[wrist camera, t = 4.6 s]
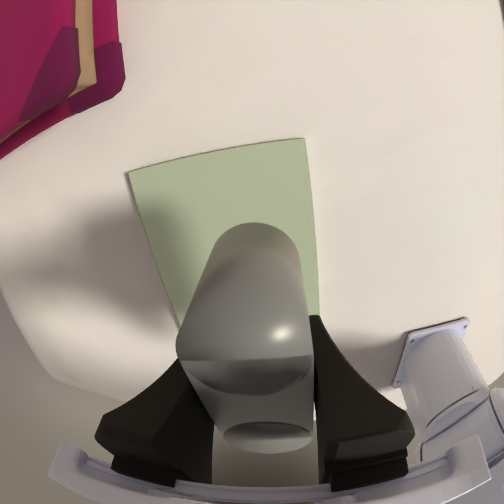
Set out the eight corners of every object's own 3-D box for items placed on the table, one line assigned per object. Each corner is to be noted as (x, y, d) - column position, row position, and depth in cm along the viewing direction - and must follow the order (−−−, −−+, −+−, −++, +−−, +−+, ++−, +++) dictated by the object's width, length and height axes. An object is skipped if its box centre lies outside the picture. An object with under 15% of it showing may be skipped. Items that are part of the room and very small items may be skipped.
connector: (307, 391, 17) (311, 463, 12) (249, 395, 17) (242, 465, 12) (295, 216, 11) (312, 299, 6) (201, 228, 12) (155, 310, 7)
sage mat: (319, 330, 23) (320, 335, 23) (189, 339, 25) (188, 344, 24) (304, 137, 16) (304, 138, 16) (132, 171, 18) (128, 172, 17)
